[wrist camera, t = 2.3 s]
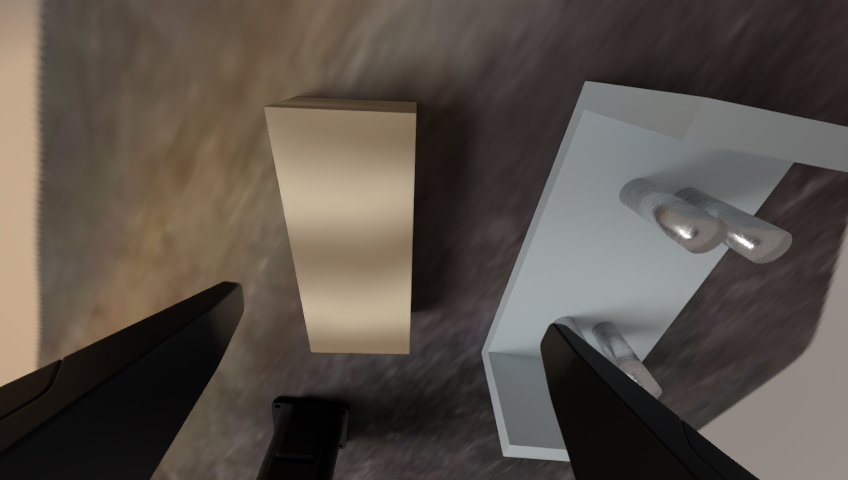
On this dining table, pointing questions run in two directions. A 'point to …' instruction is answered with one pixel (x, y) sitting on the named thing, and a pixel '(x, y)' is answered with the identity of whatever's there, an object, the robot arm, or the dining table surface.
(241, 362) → the dining table surface
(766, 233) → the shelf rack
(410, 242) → the shelf board
